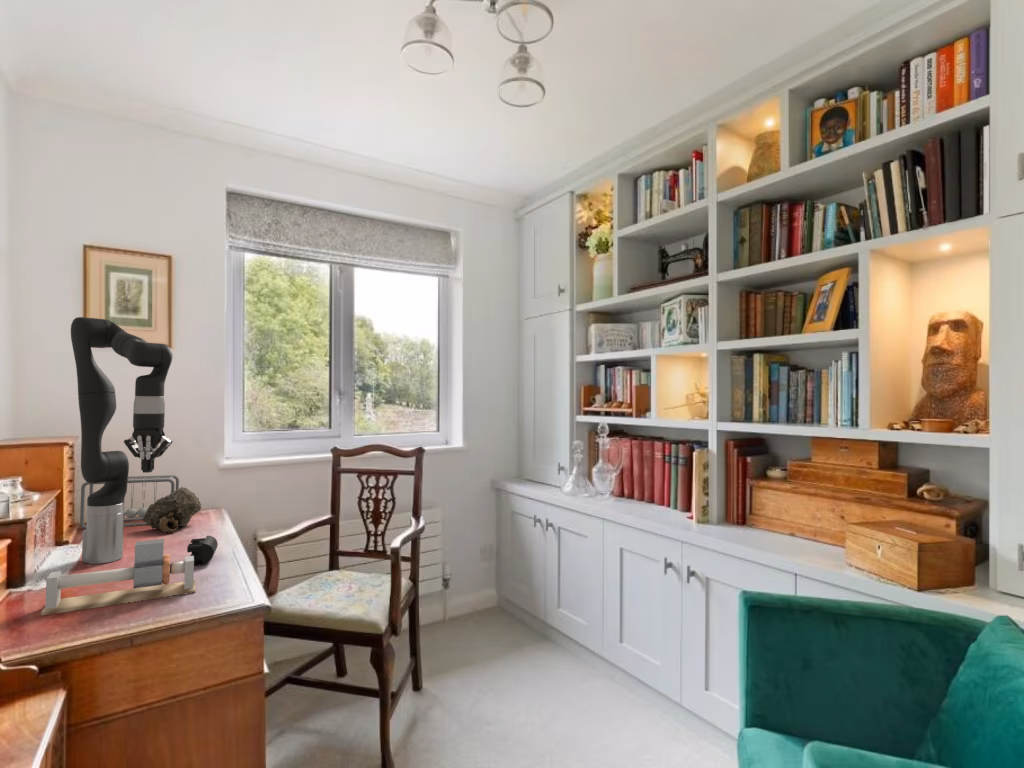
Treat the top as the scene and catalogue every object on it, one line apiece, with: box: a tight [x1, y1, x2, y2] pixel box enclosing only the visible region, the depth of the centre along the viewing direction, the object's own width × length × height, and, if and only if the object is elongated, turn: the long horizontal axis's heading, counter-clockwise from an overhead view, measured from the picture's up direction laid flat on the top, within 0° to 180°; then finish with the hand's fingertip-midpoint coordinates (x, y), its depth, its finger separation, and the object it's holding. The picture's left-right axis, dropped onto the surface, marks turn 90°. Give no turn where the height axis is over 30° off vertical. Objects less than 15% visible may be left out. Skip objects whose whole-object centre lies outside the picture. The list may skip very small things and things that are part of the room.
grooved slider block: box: [132, 538, 165, 589], centre depth 141 cm, size 6×6×10 cm
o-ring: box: [162, 553, 171, 585], centre depth 143 cm, size 2×7×7 cm, turn 31°
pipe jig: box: [44, 555, 195, 610], centre depth 138 cm, size 30×5×8 cm, turn 121°
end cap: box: [186, 535, 219, 567], centre depth 169 cm, size 10×7×7 cm
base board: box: [40, 579, 196, 616], centre depth 138 cm, size 31×8×1 cm, turn 121°
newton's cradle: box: [79, 474, 180, 530], centre depth 213 cm, size 30×10×18 cm, turn 112°
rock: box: [142, 486, 202, 534], centre depth 206 cm, size 18×14×15 cm
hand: (147, 472), depth 157 cm, fingers closed
